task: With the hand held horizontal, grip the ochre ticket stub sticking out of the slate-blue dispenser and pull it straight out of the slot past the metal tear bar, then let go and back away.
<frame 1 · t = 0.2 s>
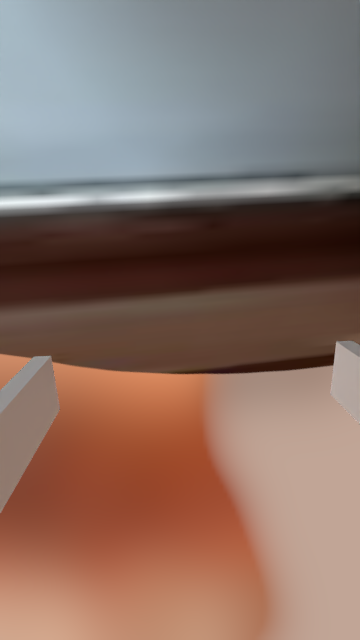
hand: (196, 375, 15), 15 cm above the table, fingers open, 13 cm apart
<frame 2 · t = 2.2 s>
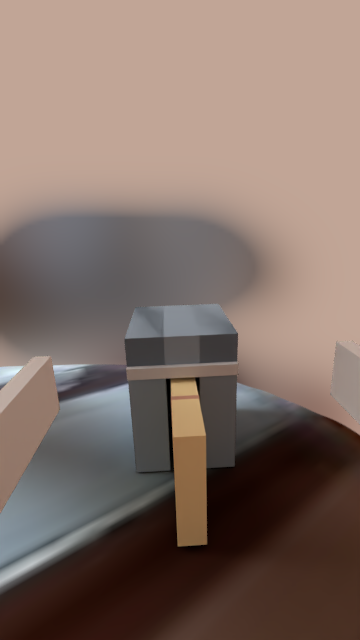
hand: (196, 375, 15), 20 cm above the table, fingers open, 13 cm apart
dispenser: (183, 435, 41), on the table
ticket: (185, 434, 32), point 6 cm above the table, slide at 0.0 cm
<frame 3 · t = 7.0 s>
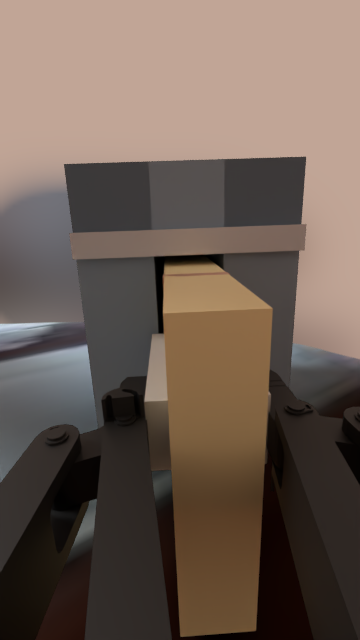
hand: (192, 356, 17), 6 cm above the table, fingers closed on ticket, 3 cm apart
dispenser: (187, 399, 25), on the table
ticket: (194, 377, 16), point 6 cm above the table, slide at 0.0 cm, touching gripper
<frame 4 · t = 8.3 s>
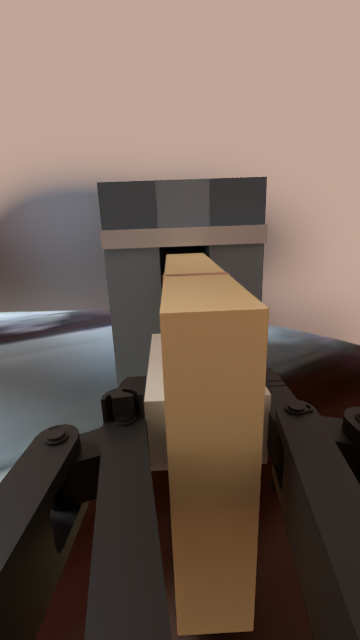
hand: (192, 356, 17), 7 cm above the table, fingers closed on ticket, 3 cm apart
dispenser: (185, 364, 31), on the table
ticket: (194, 376, 16), point 6 cm above the table, slide at 6.4 cm, touching gripper
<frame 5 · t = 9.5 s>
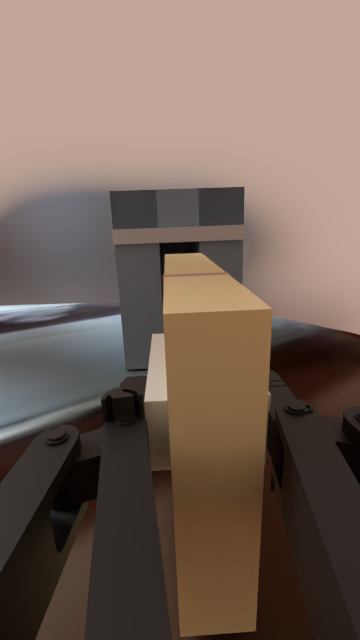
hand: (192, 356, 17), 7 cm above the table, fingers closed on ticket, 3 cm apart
dispenser: (180, 344, 36), on the table
ticket: (194, 377, 16), point 6 cm above the table, slide at 12.0 cm, touching gripper
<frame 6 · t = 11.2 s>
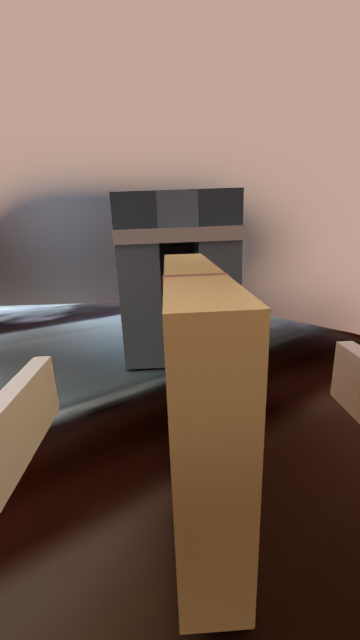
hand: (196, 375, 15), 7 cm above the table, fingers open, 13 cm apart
dispenser: (180, 344, 36), on the table
ticket: (194, 377, 16), point 6 cm above the table, slide at 12.0 cm
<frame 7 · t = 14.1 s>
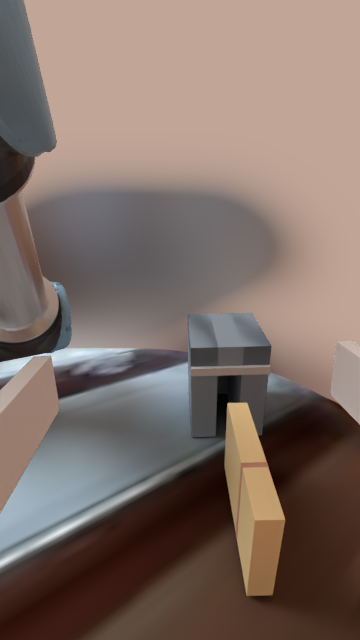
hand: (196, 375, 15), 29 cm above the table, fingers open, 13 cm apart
dispenser: (221, 411, 55), on the table
ticket: (246, 486, 35), point 6 cm above the table, slide at 12.0 cm
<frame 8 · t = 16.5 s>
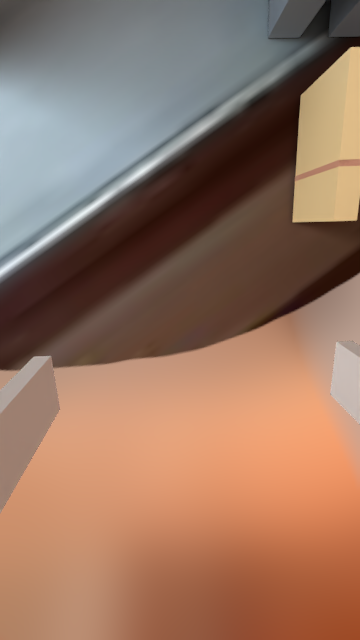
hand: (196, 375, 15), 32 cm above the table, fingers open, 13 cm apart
ticket: (326, 152, 36), point 6 cm above the table, slide at 12.0 cm
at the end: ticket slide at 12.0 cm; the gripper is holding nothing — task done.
